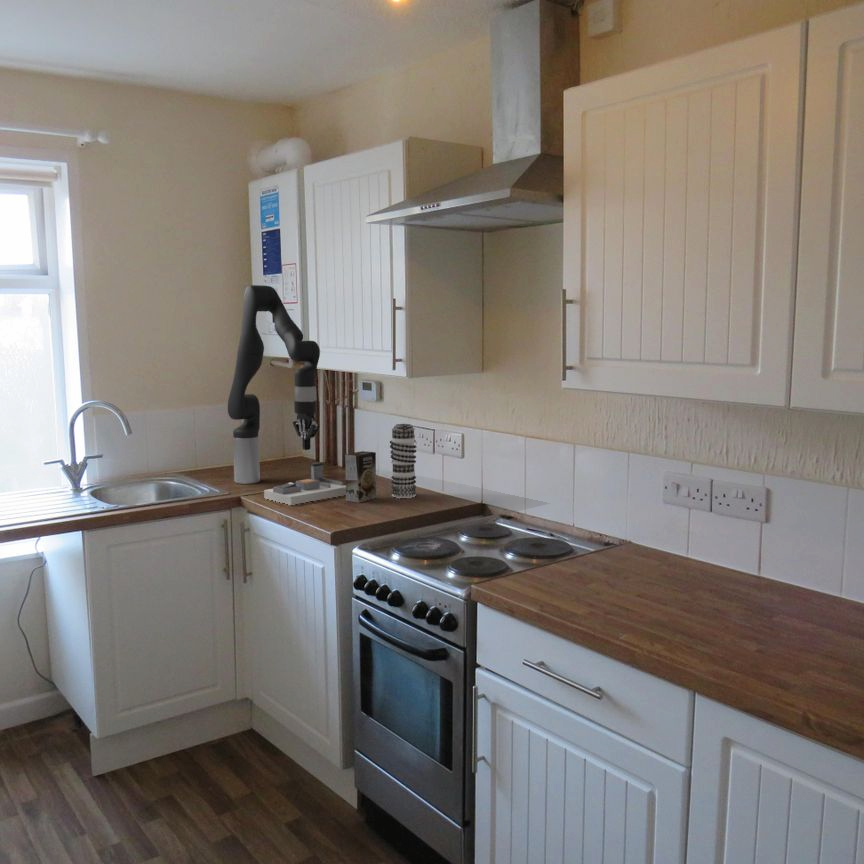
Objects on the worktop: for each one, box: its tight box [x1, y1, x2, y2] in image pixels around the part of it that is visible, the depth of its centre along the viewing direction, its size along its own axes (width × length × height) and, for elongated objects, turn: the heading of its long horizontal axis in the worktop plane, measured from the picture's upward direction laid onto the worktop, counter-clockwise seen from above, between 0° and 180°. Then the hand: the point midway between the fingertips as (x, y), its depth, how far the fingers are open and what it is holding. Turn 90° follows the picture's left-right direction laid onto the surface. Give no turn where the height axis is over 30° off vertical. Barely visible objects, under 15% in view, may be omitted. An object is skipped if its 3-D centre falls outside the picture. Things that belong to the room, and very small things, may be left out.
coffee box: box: [344, 450, 377, 504], centre depth 289 cm, size 9×6×16 cm
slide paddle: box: [309, 461, 325, 482], centre depth 305 cm, size 2×4×7 cm, turn 134°
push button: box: [298, 478, 315, 483], centre depth 295 cm, size 4×4×2 cm
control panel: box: [263, 477, 346, 506], centre depth 295 cm, size 16×25×6 cm, turn 134°
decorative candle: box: [389, 423, 417, 499], centre depth 294 cm, size 9×9×25 cm
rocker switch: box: [277, 482, 296, 489], centre depth 289 cm, size 4×5×1 cm
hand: (306, 449), depth 294 cm, fingers closed
